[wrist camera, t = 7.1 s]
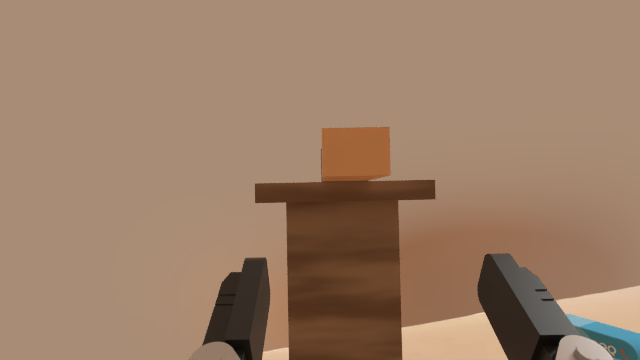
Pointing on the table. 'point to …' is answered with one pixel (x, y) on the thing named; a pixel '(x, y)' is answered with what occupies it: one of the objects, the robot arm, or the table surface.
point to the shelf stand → (344, 266)
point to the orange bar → (355, 154)
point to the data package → (609, 337)
